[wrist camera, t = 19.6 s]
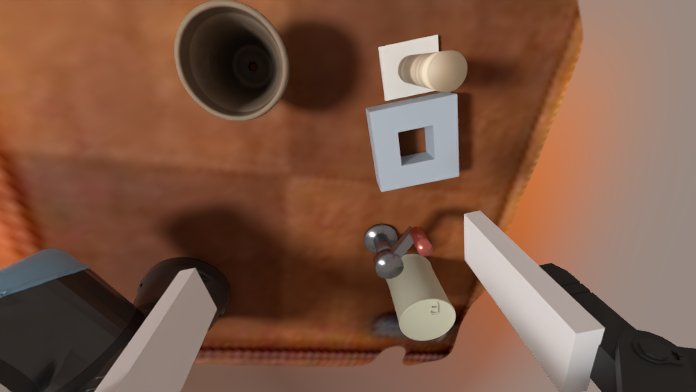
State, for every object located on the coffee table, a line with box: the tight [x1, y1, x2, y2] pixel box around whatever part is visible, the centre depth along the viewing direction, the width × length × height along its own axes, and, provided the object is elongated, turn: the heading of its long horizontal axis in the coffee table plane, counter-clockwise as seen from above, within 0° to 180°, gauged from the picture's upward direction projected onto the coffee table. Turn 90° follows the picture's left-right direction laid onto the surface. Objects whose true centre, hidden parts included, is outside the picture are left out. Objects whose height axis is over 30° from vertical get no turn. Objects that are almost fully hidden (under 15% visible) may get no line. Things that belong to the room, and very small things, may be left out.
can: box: [386, 254, 456, 341], centre depth 50 cm, size 9×9×12 cm
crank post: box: [364, 224, 397, 254], centre depth 49 cm, size 6×6×6 cm
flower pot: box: [174, 0, 290, 121], centre depth 34 cm, size 12×11×10 cm
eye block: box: [366, 92, 459, 192], centre depth 42 cm, size 12×12×4 cm
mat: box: [378, 35, 439, 101], centre depth 40 cm, size 8×7×1 cm
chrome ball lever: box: [374, 226, 433, 279], centre depth 42 cm, size 4×10×6 cm, turn 148°
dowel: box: [398, 51, 467, 92], centre depth 33 cm, size 4×4×14 cm
